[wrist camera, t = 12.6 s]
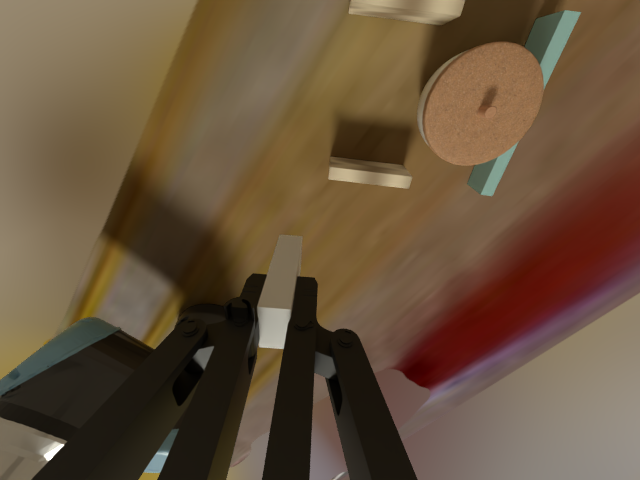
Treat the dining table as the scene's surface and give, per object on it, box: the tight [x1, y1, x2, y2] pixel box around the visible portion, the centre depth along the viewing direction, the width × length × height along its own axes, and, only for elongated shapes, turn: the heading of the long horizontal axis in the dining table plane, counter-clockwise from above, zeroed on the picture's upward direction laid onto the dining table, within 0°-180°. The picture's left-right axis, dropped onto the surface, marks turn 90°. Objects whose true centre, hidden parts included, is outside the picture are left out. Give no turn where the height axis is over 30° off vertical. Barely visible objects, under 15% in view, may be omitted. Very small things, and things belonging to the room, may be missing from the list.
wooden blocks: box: [328, 0, 465, 189], centre depth 30 cm, size 10×18×5 cm, turn 174°
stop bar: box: [467, 10, 581, 196], centre depth 30 cm, size 2×18×4 cm, turn 174°
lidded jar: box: [417, 41, 544, 166], centre depth 28 cm, size 11×11×9 cm
